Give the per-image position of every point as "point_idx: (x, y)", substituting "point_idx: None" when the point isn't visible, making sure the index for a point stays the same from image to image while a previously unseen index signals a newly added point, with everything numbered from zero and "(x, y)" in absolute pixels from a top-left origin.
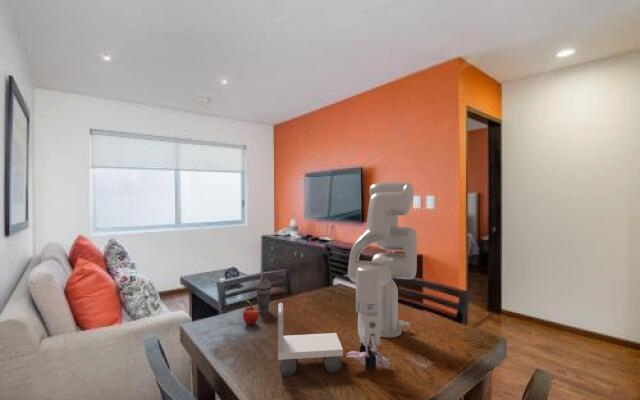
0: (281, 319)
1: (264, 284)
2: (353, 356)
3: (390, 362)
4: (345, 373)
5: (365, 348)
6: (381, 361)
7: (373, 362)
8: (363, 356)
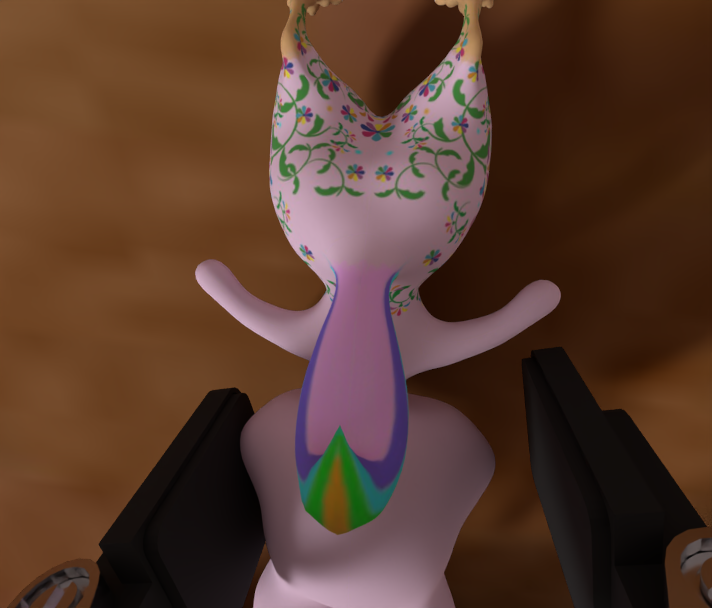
0: None
1: None
2: None
3: (469, 51)
4: (482, 576)
5: (202, 573)
6: (448, 256)
7: (659, 470)
8: (431, 587)
